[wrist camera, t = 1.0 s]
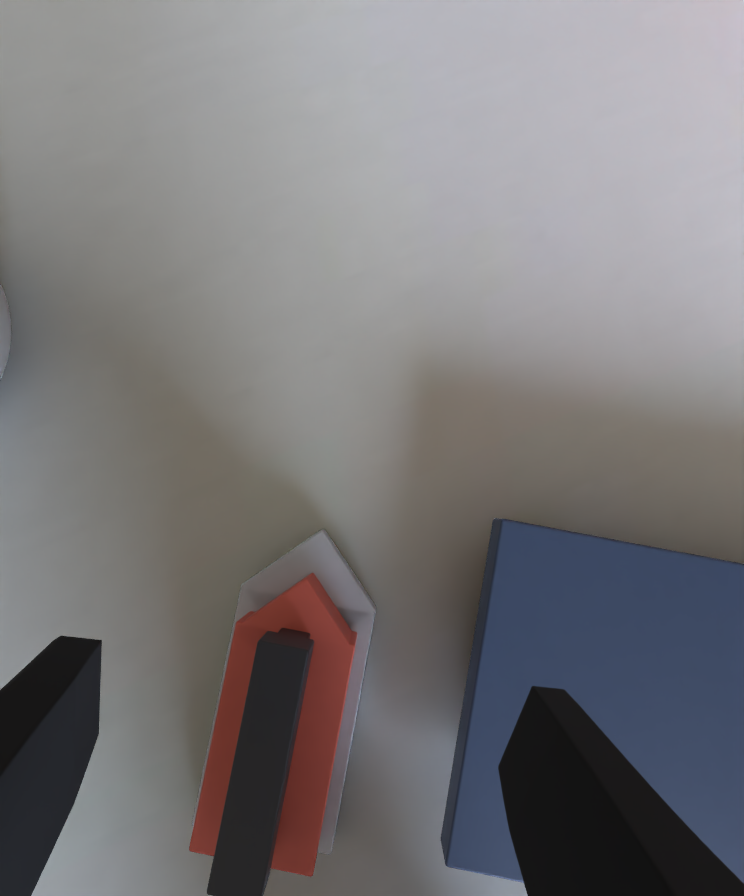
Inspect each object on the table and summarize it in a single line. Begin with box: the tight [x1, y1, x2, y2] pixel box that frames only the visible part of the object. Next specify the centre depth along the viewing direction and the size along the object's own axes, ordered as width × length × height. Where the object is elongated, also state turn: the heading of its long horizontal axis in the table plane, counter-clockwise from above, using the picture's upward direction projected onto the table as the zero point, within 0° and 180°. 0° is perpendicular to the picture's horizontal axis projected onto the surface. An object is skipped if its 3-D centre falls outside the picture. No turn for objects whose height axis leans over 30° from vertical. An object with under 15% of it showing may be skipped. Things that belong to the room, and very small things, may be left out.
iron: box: [189, 529, 376, 896], centre depth 19 cm, size 11×5×6 cm, turn 169°
